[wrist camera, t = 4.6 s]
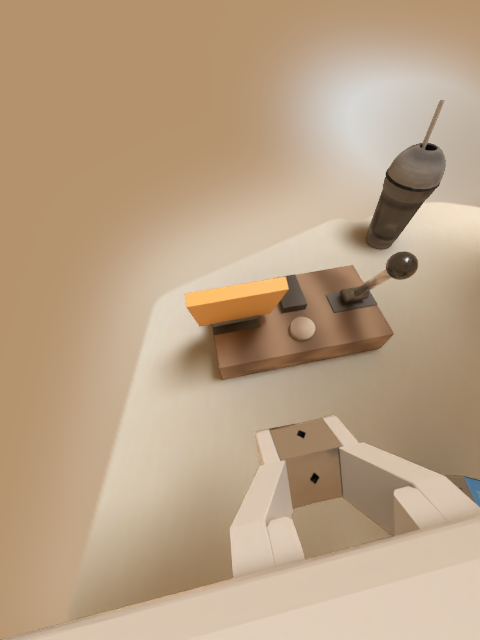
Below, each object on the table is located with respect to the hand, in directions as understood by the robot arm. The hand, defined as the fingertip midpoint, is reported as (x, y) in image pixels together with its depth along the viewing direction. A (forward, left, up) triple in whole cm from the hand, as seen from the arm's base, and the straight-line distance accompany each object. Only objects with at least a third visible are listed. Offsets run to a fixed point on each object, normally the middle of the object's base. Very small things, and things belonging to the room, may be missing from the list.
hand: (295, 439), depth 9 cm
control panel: (-8, -17, -22) cm, 29 cm away
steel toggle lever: (-16, -17, -17) cm, 29 cm away
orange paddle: (0, -17, -17) cm, 24 cm away
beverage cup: (-29, -31, -22) cm, 48 cm away
